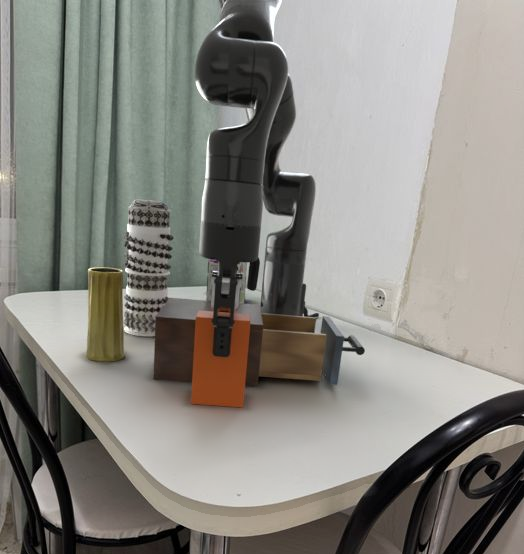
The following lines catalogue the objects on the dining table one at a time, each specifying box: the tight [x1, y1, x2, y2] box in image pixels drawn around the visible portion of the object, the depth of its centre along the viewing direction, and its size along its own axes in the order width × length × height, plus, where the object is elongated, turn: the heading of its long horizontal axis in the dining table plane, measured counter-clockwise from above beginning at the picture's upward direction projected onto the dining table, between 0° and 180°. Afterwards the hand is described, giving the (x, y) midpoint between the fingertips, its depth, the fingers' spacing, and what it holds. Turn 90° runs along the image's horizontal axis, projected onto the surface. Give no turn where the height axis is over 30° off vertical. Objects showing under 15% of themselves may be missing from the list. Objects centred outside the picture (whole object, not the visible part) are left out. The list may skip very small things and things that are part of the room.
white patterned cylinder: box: [123, 199, 174, 337], centre depth 97 cm, size 9×9×25 cm
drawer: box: [259, 313, 366, 386], centre depth 82 cm, size 19×13×8 cm
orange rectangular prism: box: [190, 310, 251, 408], centre depth 68 cm, size 7×4×12 cm, turn 92°
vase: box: [85, 267, 126, 363], centre depth 81 cm, size 6×6×14 cm
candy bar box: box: [205, 259, 248, 304], centre depth 95 cm, size 11×5×16 cm, turn 168°
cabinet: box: [153, 297, 263, 387], centre depth 81 cm, size 16×15×10 cm
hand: (222, 347), depth 68 cm, fingers open, 7 cm apart
